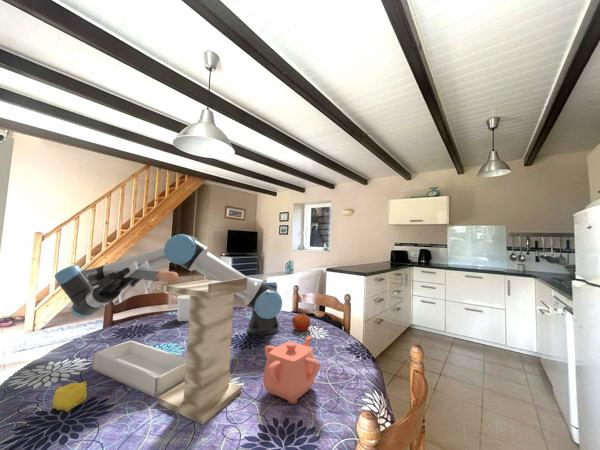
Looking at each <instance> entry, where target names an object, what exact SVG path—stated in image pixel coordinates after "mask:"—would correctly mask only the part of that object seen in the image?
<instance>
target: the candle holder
mask: <svg viewBox="0 0 600 450" xmlns="http://www.w3.org/2000/svg"><path fill="white" fill-rule="evenodd" d="M190 297H191V296H190V295H184V294H180V295H179V296H177V297H176V299H177V303H176V304H177V305H176V307H177V309H176V310H177V311H176V320H177V321H178V322H182V321H185V322H189V311H190Z"/></svg>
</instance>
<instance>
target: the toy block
mask: <svg viewBox="0 0 600 450" xmlns="http://www.w3.org/2000/svg"><path fill="white" fill-rule="evenodd" d="M87 393H88V391H87V381H81V382H70V383H68V384H66V385H64V386H62V385H61V386H58V387H56V390H55V392H54V393H53V394H54V395H53V397H52V398H53V399H52V405H51V406H52V408H53V409H56V411H60V410H63V411H64V412H65V413H66V412H67V411H68V412H70V411H71V410H72V409H74V408H75V407H77V406H79V405H81V404H82V403H83V402H85V401H86V400H87V395H88V394H87Z"/></svg>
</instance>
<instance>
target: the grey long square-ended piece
mask: <svg viewBox="0 0 600 450" xmlns="http://www.w3.org/2000/svg"><path fill="white" fill-rule="evenodd" d="M138 268H139V267H138ZM129 277H131V278H137V279H141V280H145V281H150V282H163V283H172V284H173V283H174V284H175V283H176V282H177V281H179V273H177V272H176V271H170V270H169V271H168V270H163V269H154V268H151V269H147V268H139V269H138V270H137V271H135V272H134V273H133V274H131V275H130V276H129Z"/></svg>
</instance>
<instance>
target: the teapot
mask: <svg viewBox="0 0 600 450" xmlns="http://www.w3.org/2000/svg"><path fill="white" fill-rule="evenodd" d="M312 337H313V335H311V334H310V335H308V336H307V337H306V338H305V340H304V343H303V344H301V343H297V342H294V341H286V342H283V343H281V344H280V345H277V346H275V345H265V348H264V352H265V357H266V363H265V366H264V371H263V378H262V379H263V383H262V384H263V387H264V390H265V391H267V392H269V394H270V395H271V396H277V397H279V398H282V399H284V400H286V401H287V402H288V403H289V404H291V405H296V404H297V403H298V402H299V401H298V399H299V398H300V397H302V396H304V395H305V394H306V393H307V392H309V391H310V388H312V386H313V384H314V382H315V381H316V380H315V379H316V375H317V374H318V373H319V372H320V370H321V363H320V361H318V360H317V359H315V355H314V350H313V347H311V345H310V343H311V340H312Z"/></svg>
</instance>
